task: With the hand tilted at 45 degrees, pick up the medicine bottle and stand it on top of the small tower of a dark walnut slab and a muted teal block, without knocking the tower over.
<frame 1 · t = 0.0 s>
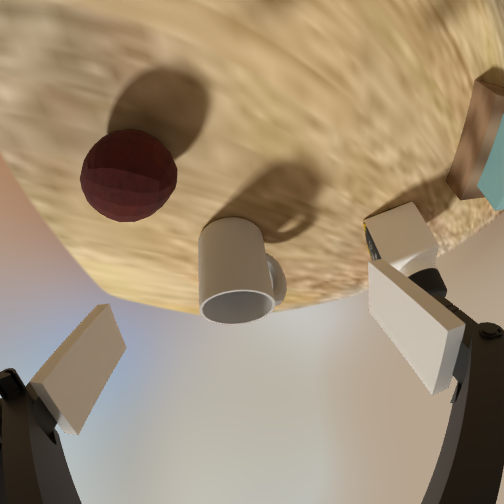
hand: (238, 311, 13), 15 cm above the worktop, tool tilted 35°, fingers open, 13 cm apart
medicine bottle: (388, 225, 34), on the worktop
tower base slab: (493, 134, 23), on the worktop, touching tower top block
cup: (241, 239, 33), on the worktop
dark red textured ball: (137, 151, 22), on the worktop
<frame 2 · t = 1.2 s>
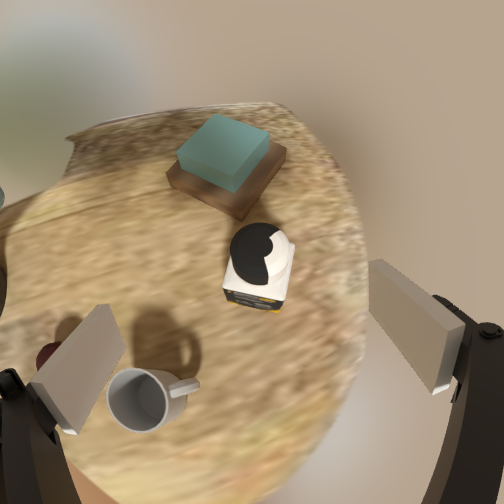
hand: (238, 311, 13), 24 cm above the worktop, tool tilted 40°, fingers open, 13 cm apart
medicine bottle: (258, 283, 39), on the worktop
tower base slab: (228, 174, 48), on the worktop, touching tower top block
cup: (171, 393, 33), on the worktop
tower top block: (225, 158, 44), point 3 cm above the worktop, touching tower base slab
dark red textured ball: (75, 369, 34), on the worktop
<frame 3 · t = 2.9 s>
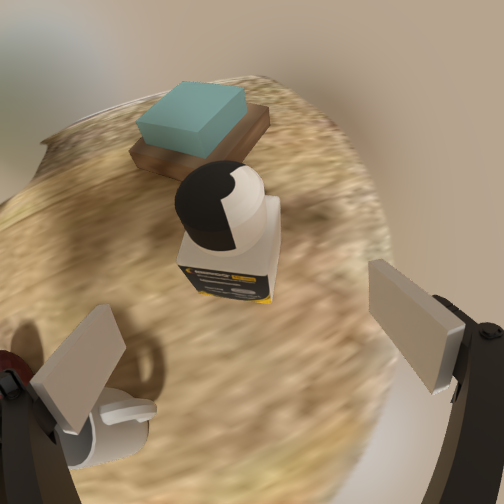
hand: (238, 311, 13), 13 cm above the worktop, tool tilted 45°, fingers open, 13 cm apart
medicine bottle: (241, 267, 29), on the worktop
tower base slab: (204, 147, 39), on the worktop, touching tower top block
cup: (129, 419, 22), on the worktop
tower top block: (196, 126, 35), point 3 cm above the worktop, touching tower base slab
dark red textured ball: (28, 386, 24), on the worktop
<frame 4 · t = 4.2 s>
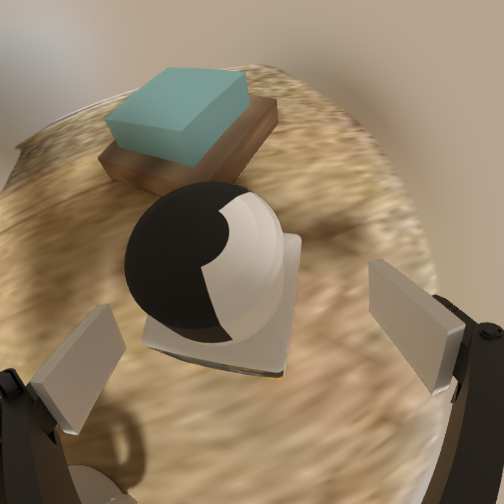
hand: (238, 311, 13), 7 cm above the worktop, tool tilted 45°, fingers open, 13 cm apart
medicine bottle: (241, 324, 20), on the worktop
tower base slab: (193, 151, 30), on the worktop, touching tower top block
cup: (109, 499, 14), on the worktop
tower top block: (183, 123, 27), point 3 cm above the worktop, touching tower base slab
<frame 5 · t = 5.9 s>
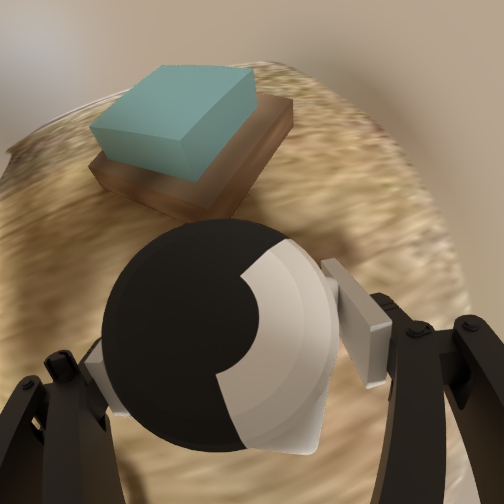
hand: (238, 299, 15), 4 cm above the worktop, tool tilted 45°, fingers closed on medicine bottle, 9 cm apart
medicine bottle: (254, 369, 17), on the worktop, touching gripper
tower base slab: (197, 158, 27), on the worktop, touching tower top block
tower top block: (180, 129, 23), point 3 cm above the worktop, touching tower base slab
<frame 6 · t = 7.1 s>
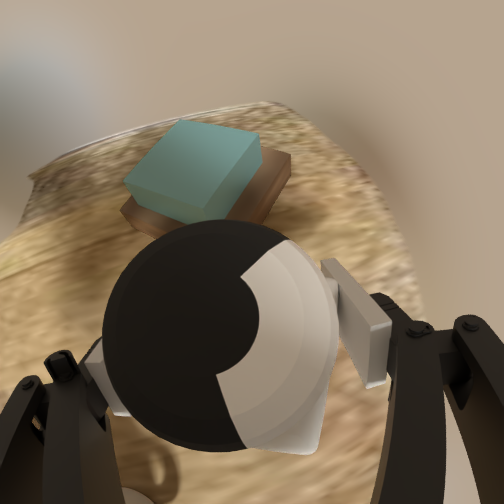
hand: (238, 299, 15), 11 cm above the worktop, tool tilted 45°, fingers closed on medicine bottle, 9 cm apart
medicine bottle: (254, 369, 17), point 7 cm above the worktop, touching gripper
tower base slab: (211, 202, 33), on the worktop
tower top block: (199, 182, 30), point 3 cm above the worktop
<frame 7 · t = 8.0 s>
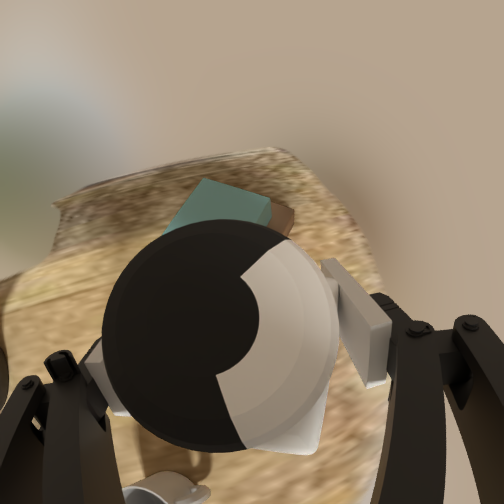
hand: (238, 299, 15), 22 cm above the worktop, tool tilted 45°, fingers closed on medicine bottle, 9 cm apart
medicine bottle: (254, 369, 17), point 17 cm above the worktop, touching gripper
tower base slab: (229, 246, 42), on the worktop, touching tower top block
cup: (183, 491, 26), on the worktop
tower top block: (221, 233, 38), point 3 cm above the worktop, touching tower base slab
when the fingers open (13 cm above the worktop, at t = 13.0 s): medicine bottle drops 2 cm, point 7 cm above the worktop.
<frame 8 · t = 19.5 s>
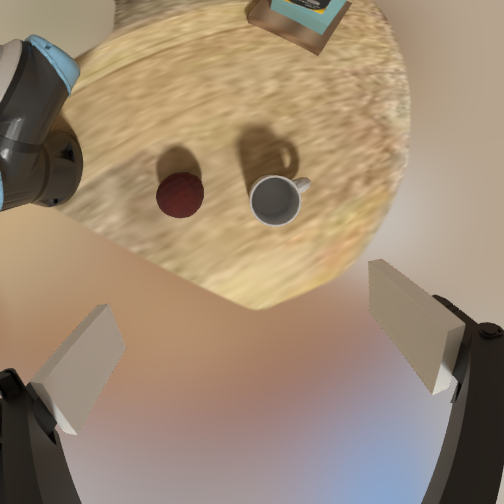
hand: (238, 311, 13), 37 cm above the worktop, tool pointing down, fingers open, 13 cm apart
tower base slab: (299, 16, 39), on the worktop, touching tower top block
cup: (277, 191, 48), on the worktop
tower top block: (308, 5, 35), point 3 cm above the worktop, touching tower base slab
dark red textured ball: (185, 193, 48), on the worktop
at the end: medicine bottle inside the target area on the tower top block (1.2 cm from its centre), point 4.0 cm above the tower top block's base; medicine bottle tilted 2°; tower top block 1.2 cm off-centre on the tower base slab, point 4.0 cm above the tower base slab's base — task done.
